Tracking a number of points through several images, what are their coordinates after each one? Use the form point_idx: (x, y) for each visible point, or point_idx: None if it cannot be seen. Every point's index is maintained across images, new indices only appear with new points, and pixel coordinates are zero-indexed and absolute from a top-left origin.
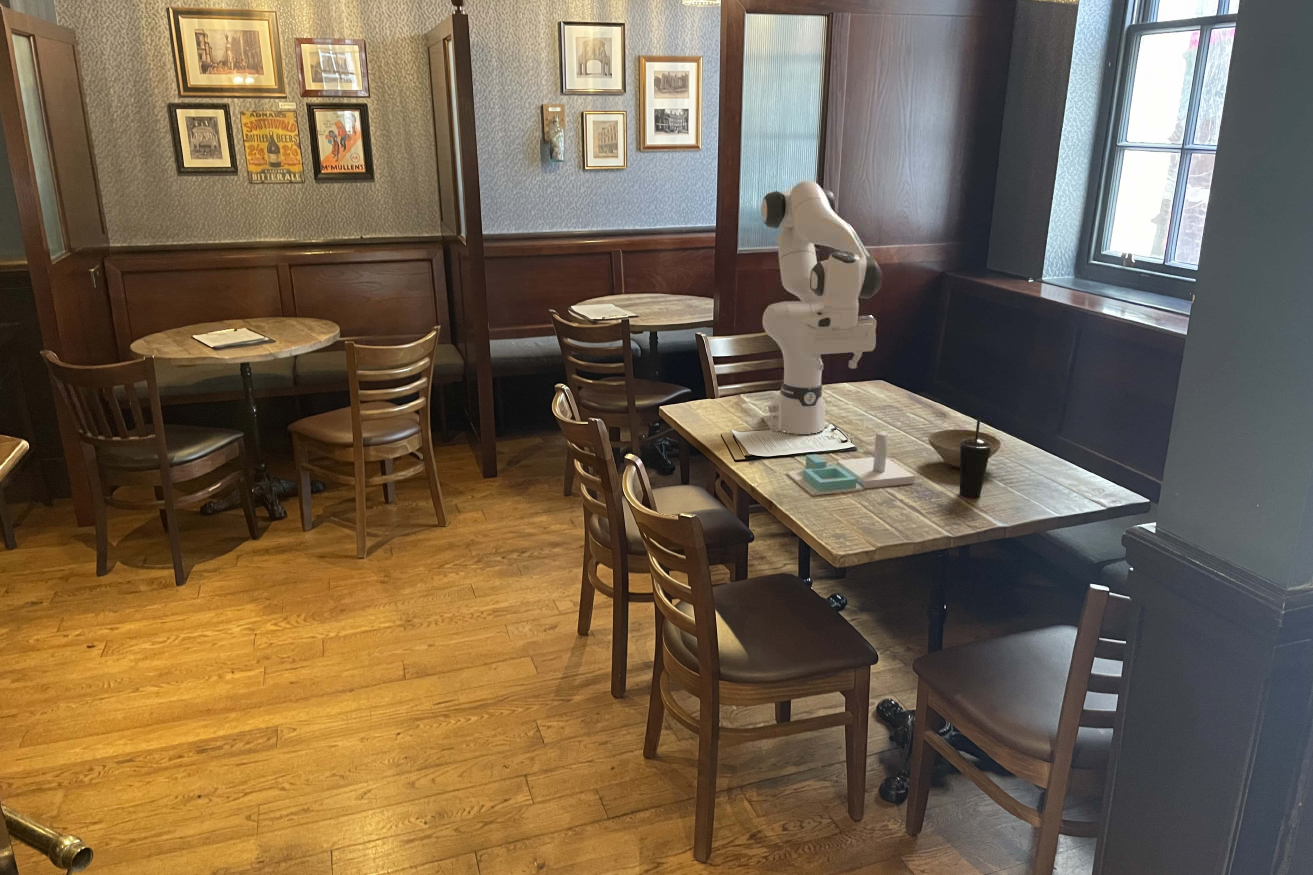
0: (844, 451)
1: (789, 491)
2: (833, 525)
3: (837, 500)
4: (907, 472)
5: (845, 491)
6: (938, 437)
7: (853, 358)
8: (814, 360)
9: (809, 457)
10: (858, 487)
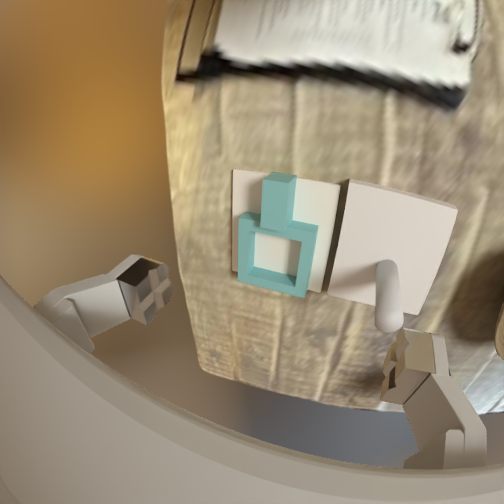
0: (428, 99)
1: (209, 240)
2: (219, 339)
3: (259, 298)
4: (421, 299)
5: None
6: None
7: (433, 399)
8: (85, 284)
9: (262, 195)
10: (313, 287)
